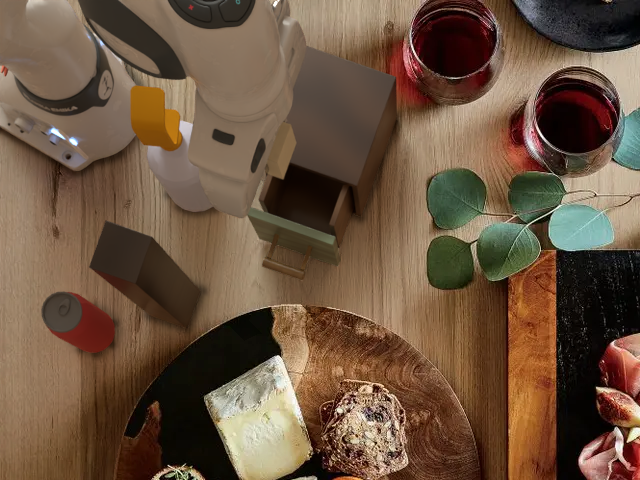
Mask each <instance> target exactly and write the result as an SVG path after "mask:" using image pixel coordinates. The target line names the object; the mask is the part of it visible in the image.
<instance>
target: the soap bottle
mask: <svg viewBox="0 0 640 480" xmlns="http://www.w3.org/2000/svg"><path fill="white" fill-rule="evenodd" d="M130 113H131V126H132V129H133V131H134V133H135V134H136V135H135V136H136V137H137V139H138V140H139V142H140V143H141V144H142V145H143V146H145V147H147V153H146V160H147V163H148V167H149V170H150V171H151V173H152V174H153V175H154V177H155V178H156V180H157V181H158V182H159V184H160V185H161V187H162V188H163V189H164V190H165V192H166V194H167V195H168V196H169V197H170V199H171V200H172V201H173V203H174V204H175V205H177V206H178V207H180V208H181V209H182V210H186V211H189V212H193V213H197V212H205V211H207V210H210V209H212V208H214V207H213V206H212V204H211V203H210V201H209V200H208V198H207V196H206V194H205V192H204V190H203V188H202V185H201V182H200V178H199V168H198V167H196V166H194V165H193V164H191V163H190V161H189V159H188V148H189V143H190V137H191V132H192V127H193V122H192V123H191V122H188V121H184V120H181V115H180V114H181V113H180V112H179V111H178V110H177V109H174V108H166V93H165V90H164V89H162V88H160V87H155V86H146V85H144V86H143V85H136V86H133V87H132V88H131V90H130Z"/></svg>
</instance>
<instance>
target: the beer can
mask: <svg viewBox="0 0 640 480" xmlns="http://www.w3.org/2000/svg"><path fill="white" fill-rule="evenodd" d="M40 310H41V311H40V312H41V319H42V321H43V323H44V324H45V327H46V328H47V329H48V331H49V332H50V333H51V334H52V335H53V336H55V337H56V338H58V339H60V340H62V341H64V342H66V343H67V344H70V345H71V346H73V347H75V348H77V349H79V350H81V351H83V352H87V353H90V354H95V353H100V352H103V351H105V350H106V349H107V348H108V347H110V345H111V344H112V343H113V341H114V338H115V335H116V326H115V323H114V320H113V319H112V317H111V316H110V314H109V313H107V312H105V311H104V310H102V309H101V308H99V307H98V306H97V305H96V304H93V303H92V302H91V301H90V300H88V299H87V298H85V297H83V296H82V295H81V294H79V293H76V292H72V291H56V292H53V293H51V294H50V295H49V296H47V297H46V298H45V300H44V301H43V303H42V306H41V308H40Z"/></svg>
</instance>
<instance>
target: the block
mask: <svg viewBox="0 0 640 480" xmlns="http://www.w3.org/2000/svg"><path fill="white" fill-rule="evenodd" d="M295 146H296V140H295V136H294V133H293V129H292V126H291V124H288V123H285V122H283V123H282V124H281V125H280V127H279V130H278V133H277V136H276V138H275V141H274V144H273V147H272V150H271V152H270V155H269V158H268V161H267V163H266V164H268V168H269V172H268V174H269V175H272V176H275V177H278V178H281V179H284V176H285V173H286V171H287V168H288V165H289V162H290V159H291V157H292V154H293V151H294V148H295Z"/></svg>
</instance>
